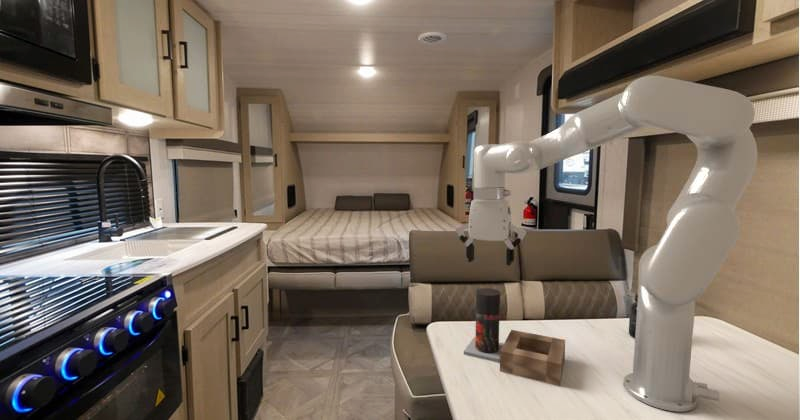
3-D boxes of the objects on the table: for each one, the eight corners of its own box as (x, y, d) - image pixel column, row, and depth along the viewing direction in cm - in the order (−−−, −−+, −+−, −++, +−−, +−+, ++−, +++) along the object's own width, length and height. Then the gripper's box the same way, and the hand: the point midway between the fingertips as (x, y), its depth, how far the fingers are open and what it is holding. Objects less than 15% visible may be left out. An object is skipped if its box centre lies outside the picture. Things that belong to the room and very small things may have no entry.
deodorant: (501, 353, 94) (502, 295, 92) (477, 353, 94) (478, 295, 92) (495, 342, 99) (496, 288, 98) (473, 342, 100) (474, 288, 98)
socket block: (564, 359, 92) (565, 339, 92) (560, 386, 81) (561, 364, 80) (510, 347, 98) (511, 329, 98) (499, 371, 87) (500, 350, 86)
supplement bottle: (662, 343, 100) (665, 300, 99) (634, 341, 102) (637, 298, 100) (650, 332, 107) (653, 292, 106) (624, 330, 108) (626, 290, 107)
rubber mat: (507, 347, 99) (507, 344, 99) (499, 362, 91) (499, 359, 91) (473, 340, 103) (473, 337, 103) (463, 354, 95) (463, 351, 95)
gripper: (528, 194, 92) (528, 262, 93) (460, 194, 100) (461, 256, 101) (522, 195, 85) (522, 269, 87) (451, 195, 93) (452, 263, 95)
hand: (489, 262), depth 94 cm, fingers open, 9 cm apart
